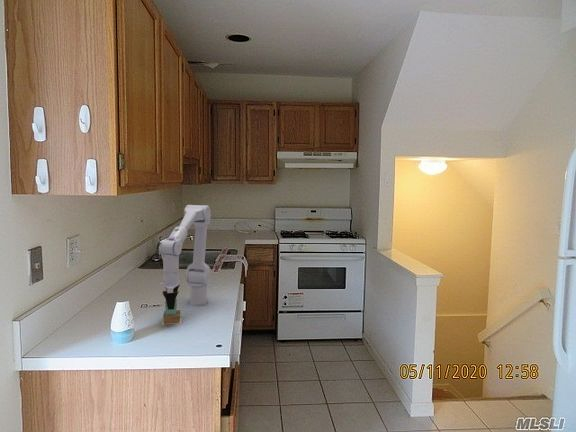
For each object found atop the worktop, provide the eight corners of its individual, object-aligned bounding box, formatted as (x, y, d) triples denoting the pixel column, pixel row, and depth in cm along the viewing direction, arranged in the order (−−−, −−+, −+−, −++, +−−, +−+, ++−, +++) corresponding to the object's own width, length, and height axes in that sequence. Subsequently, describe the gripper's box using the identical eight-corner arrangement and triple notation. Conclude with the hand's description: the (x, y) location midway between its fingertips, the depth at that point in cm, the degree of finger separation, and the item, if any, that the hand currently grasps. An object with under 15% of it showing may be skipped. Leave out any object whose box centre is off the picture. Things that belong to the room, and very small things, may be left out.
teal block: (166, 311, 154) (166, 299, 153) (176, 310, 155) (176, 298, 154) (165, 315, 150) (165, 302, 150) (176, 314, 151) (176, 301, 150)
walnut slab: (164, 318, 155) (164, 310, 155) (180, 317, 156) (180, 309, 156) (163, 323, 149) (163, 316, 149) (179, 322, 150) (179, 315, 150)
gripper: (161, 267, 157) (162, 300, 158) (158, 276, 143) (159, 312, 144) (180, 266, 158) (180, 299, 160) (178, 275, 144) (179, 311, 146)
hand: (171, 305), depth 152 cm, fingers open, 7 cm apart
